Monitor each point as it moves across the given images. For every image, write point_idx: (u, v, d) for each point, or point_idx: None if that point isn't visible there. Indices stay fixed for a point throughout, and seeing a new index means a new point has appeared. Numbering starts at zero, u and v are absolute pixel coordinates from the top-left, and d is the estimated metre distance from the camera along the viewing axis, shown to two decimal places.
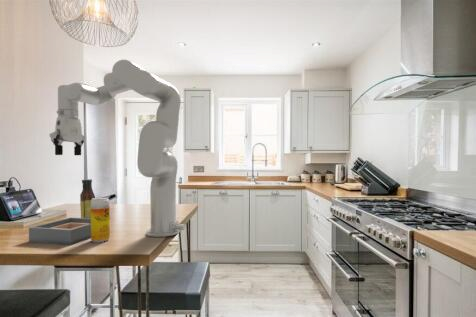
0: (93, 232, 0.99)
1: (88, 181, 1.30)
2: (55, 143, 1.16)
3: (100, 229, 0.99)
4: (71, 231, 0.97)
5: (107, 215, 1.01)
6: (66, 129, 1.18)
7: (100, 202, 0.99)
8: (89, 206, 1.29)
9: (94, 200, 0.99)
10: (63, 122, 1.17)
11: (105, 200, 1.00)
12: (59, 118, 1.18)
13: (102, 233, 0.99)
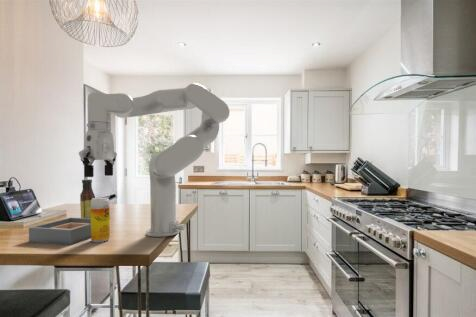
0: (93, 232, 0.99)
1: (88, 181, 1.30)
2: (85, 163, 0.96)
3: (100, 229, 0.99)
4: (71, 231, 0.97)
5: (107, 215, 1.01)
6: (98, 146, 0.98)
7: (100, 202, 0.99)
8: (89, 206, 1.29)
9: (94, 200, 0.99)
10: (95, 137, 0.97)
11: (105, 200, 1.00)
12: (90, 132, 0.97)
13: (102, 233, 0.99)
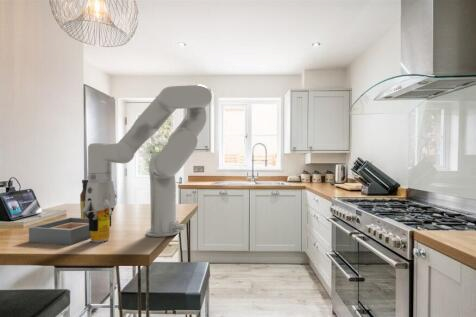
0: (92, 232, 0.99)
1: None
2: (90, 218, 0.97)
3: (100, 229, 0.99)
4: (71, 231, 0.97)
5: (107, 215, 1.01)
6: (99, 198, 0.98)
7: None
8: None
9: None
10: (95, 190, 0.97)
11: (105, 200, 1.00)
12: (90, 184, 0.97)
13: (102, 233, 0.99)
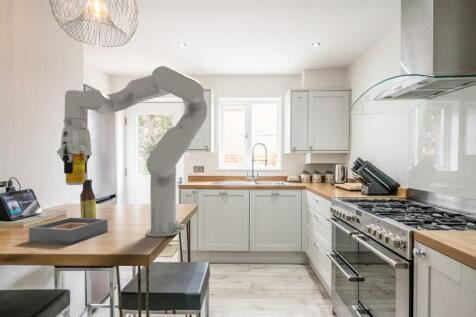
0: (67, 175, 1.03)
1: (88, 181, 1.30)
2: (64, 160, 1.01)
3: (75, 172, 1.03)
4: (71, 231, 0.97)
5: (82, 160, 1.05)
6: (74, 142, 1.02)
7: None
8: (89, 206, 1.29)
9: None
10: (71, 133, 1.01)
11: None
12: (66, 128, 1.02)
13: (76, 176, 1.04)
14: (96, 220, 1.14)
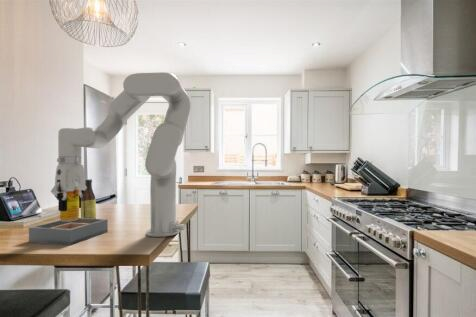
0: (61, 212, 1.05)
1: (88, 181, 1.30)
2: (59, 198, 1.03)
3: (69, 209, 1.05)
4: (71, 231, 0.97)
5: (76, 196, 1.07)
6: (68, 180, 1.04)
7: None
8: (89, 206, 1.29)
9: None
10: (64, 172, 1.03)
11: None
12: (60, 167, 1.03)
13: (70, 213, 1.05)
14: (96, 220, 1.14)
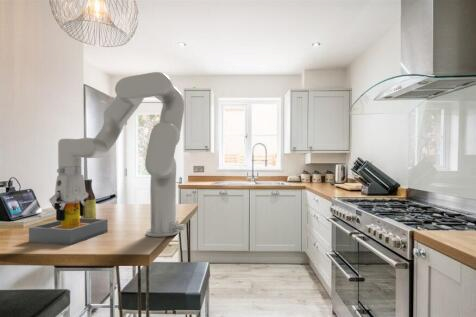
0: (63, 225, 1.05)
1: (88, 181, 1.30)
2: (56, 208, 1.02)
3: (70, 222, 1.05)
4: (71, 231, 0.97)
5: (77, 209, 1.07)
6: (68, 190, 1.04)
7: None
8: (89, 206, 1.29)
9: None
10: (64, 182, 1.03)
11: None
12: (60, 177, 1.03)
13: (72, 226, 1.05)
14: (96, 220, 1.14)
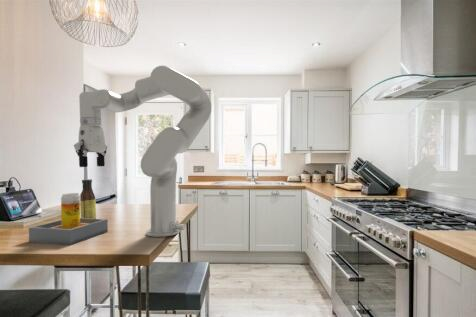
0: (63, 226, 1.05)
1: (88, 181, 1.30)
2: (80, 154, 1.08)
3: (70, 223, 1.05)
4: (71, 231, 0.97)
5: (77, 210, 1.07)
6: (91, 139, 1.10)
7: (70, 198, 1.05)
8: (89, 206, 1.29)
9: (64, 195, 1.05)
10: (87, 131, 1.09)
11: (75, 195, 1.06)
12: (83, 127, 1.10)
13: (72, 227, 1.05)
14: (96, 220, 1.14)
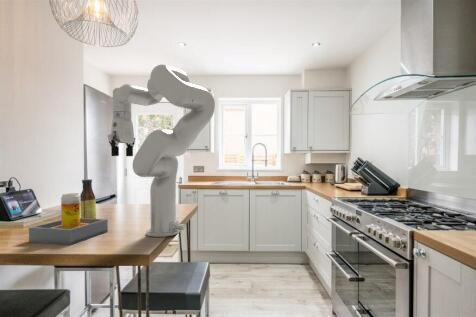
0: (63, 226, 1.05)
1: (88, 181, 1.30)
2: (112, 144, 1.19)
3: (70, 223, 1.05)
4: (71, 231, 0.97)
5: (77, 210, 1.07)
6: (122, 131, 1.21)
7: (70, 198, 1.05)
8: (89, 206, 1.29)
9: (64, 195, 1.05)
10: (119, 124, 1.20)
11: (75, 195, 1.06)
12: (115, 120, 1.21)
13: (72, 227, 1.05)
14: (96, 220, 1.14)
